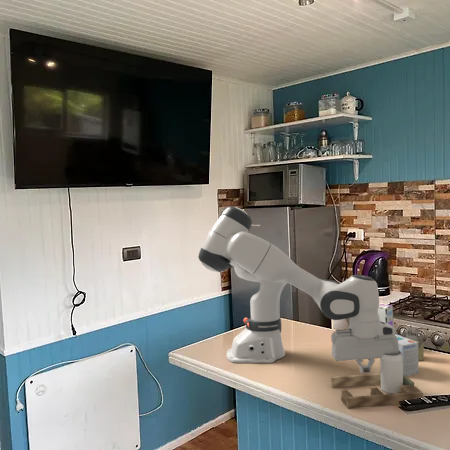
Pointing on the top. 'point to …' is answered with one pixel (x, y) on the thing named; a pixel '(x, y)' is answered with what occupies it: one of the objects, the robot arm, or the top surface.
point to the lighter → (420, 342)
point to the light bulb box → (408, 355)
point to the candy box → (386, 313)
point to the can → (391, 372)
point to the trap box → (373, 391)
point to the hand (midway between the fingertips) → (365, 372)
